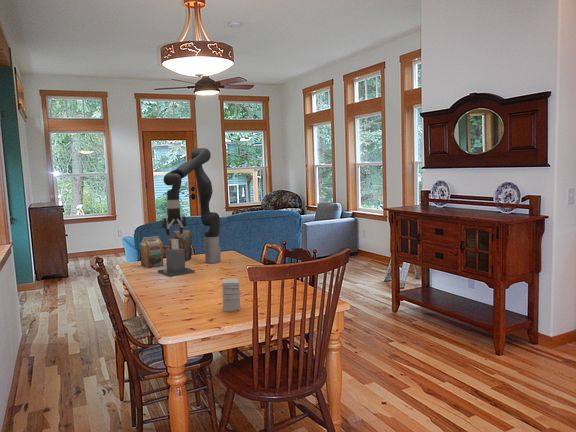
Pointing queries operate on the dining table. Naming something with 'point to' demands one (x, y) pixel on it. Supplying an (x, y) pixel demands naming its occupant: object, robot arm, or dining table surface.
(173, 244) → the column
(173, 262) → the stand housing
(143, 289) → the dining table surface
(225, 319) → the dining table surface
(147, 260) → the milk carton
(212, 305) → the dining table surface
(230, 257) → the dining table surface
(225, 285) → the supplement box
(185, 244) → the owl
